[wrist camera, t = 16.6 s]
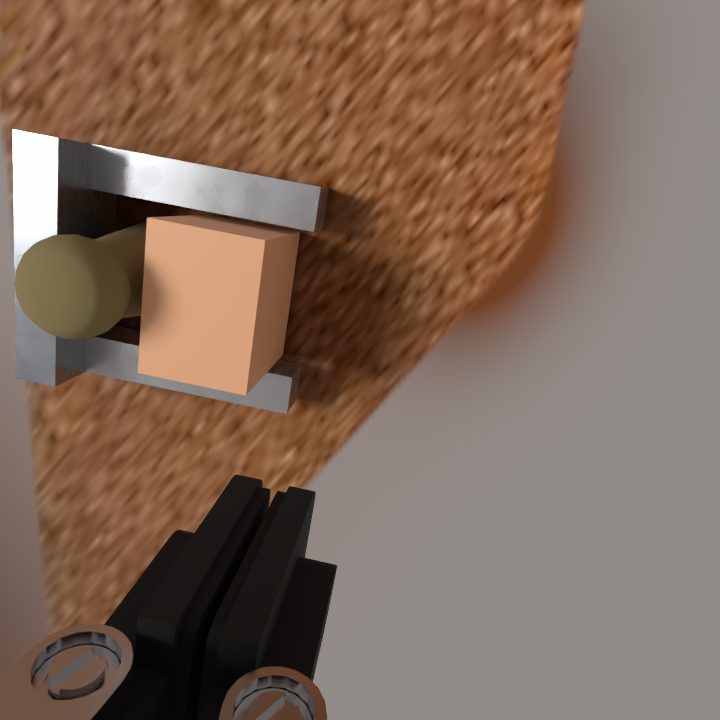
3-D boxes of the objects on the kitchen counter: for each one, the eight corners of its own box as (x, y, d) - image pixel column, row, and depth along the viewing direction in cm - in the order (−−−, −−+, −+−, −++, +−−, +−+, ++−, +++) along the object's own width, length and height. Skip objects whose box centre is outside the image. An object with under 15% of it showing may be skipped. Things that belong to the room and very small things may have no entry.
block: (208, 214, 34) (147, 217, 26) (300, 232, 34) (265, 240, 26) (196, 337, 36) (137, 373, 29) (282, 355, 36) (246, 395, 29)
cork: (217, 245, 35) (129, 263, 24) (185, 326, 37) (91, 376, 26) (132, 203, 35) (7, 203, 24) (105, 287, 36) (-23, 320, 26)
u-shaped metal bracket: (81, 142, 34) (12, 129, 28) (329, 188, 33) (310, 185, 27) (76, 351, 38) (15, 378, 32) (297, 397, 37) (274, 433, 31)
